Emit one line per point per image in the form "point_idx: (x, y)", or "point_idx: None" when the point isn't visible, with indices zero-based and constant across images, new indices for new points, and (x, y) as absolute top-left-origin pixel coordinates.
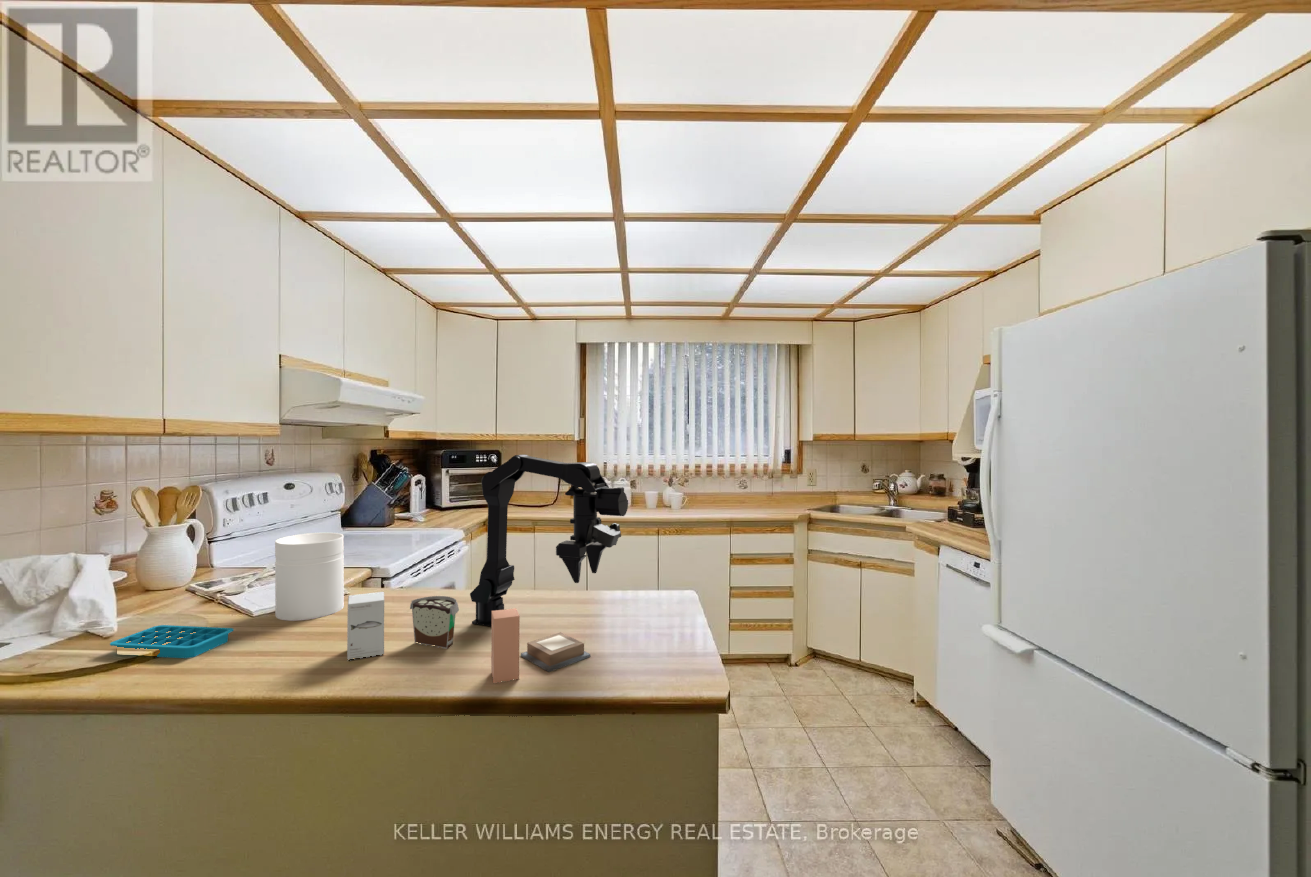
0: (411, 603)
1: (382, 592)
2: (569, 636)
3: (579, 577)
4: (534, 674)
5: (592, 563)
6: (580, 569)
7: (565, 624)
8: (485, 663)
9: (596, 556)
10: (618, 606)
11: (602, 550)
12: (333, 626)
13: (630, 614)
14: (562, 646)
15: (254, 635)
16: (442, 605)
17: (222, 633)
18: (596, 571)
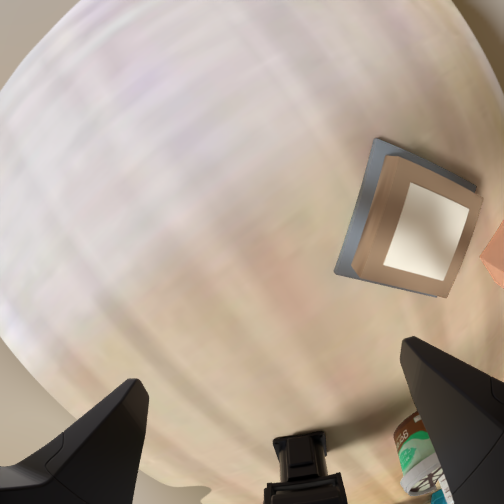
0: (435, 486)
1: (452, 501)
2: (376, 232)
3: (429, 354)
4: (486, 206)
5: (127, 445)
6: (468, 389)
7: (218, 342)
8: (470, 320)
9: (86, 472)
10: (43, 297)
11: (16, 477)
12: (388, 496)
13: (53, 237)
14: (443, 200)
15: (420, 496)
16: (437, 469)
17: (442, 496)
18: (127, 383)
